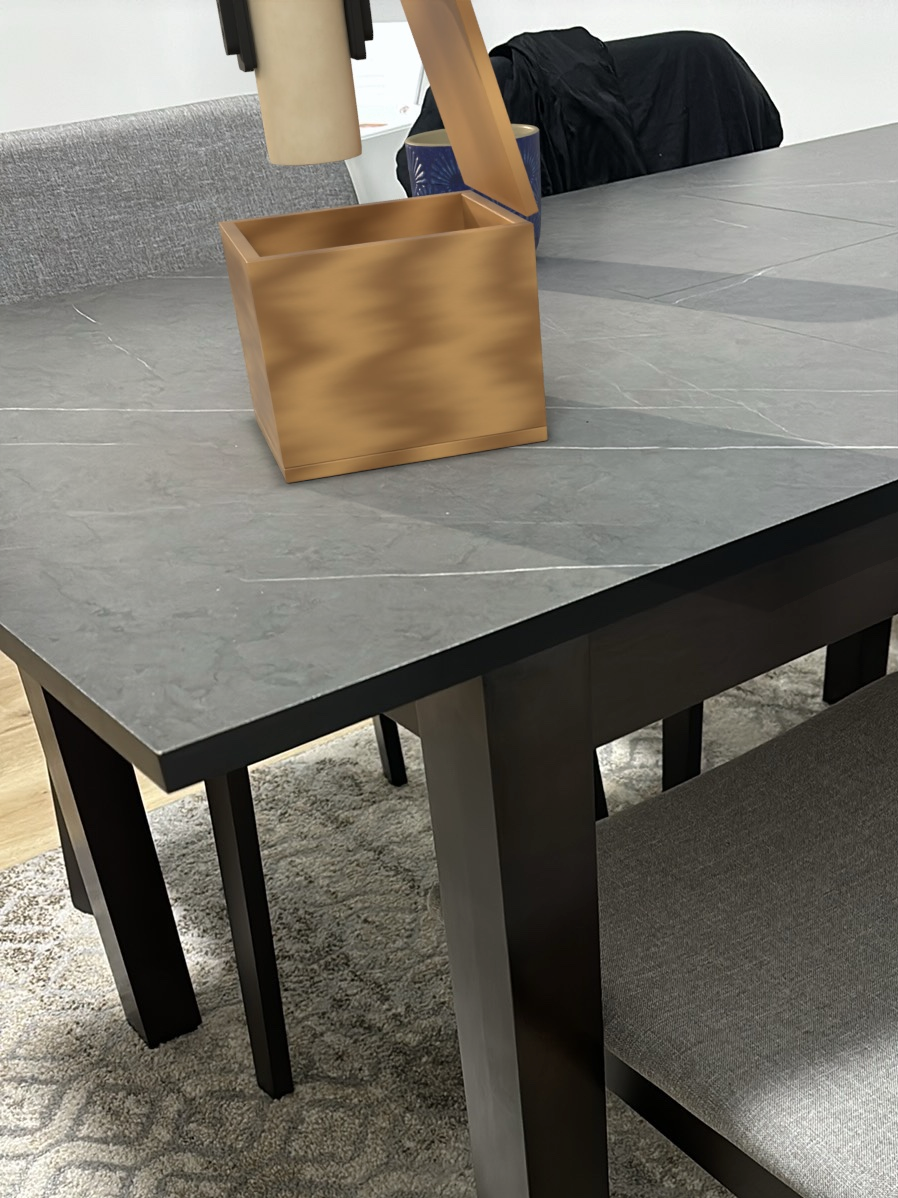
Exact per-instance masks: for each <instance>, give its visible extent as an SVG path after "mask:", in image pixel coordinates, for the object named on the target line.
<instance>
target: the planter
mask: <svg viewBox="0 0 898 1198" xmlns="http://www.w3.org/2000/svg"><path fill="white" fill-rule="evenodd" d="M511 126H512V129H513V133H514V136H515V139H516V142H517V145H518V148H519V151H520V154H521V157H522V160H523V163H524V167H525V170H526V173H527V176H528V179H529V182H530V185H531V188H532V191H533V194H534V198H535V201H536V204H537V207H538V210H539V211H538V212H537V213H535V214H533V215H531V216H529V217H526V216H524V215H522V214H521V213H519V212H517V211H515V210H513V209H511V208H509V207H507V206H505V205H504V204H502V203H500V202H498V201H496V200H494V199H492V198H490V197H488V196H486V195H485V194H483V193H481V192H479V191H477V190H475V189H473V188H471V187H469V186H467V185H466V184H465V183H464V180H463V178H462V175H461V172H460V169H459V166H458V163H457V161H456V158H455V155H454V152H453V149H452V146H451V144H450V141H449V138H448V135H447V132H446V129H445V128H440V129H434V130H430V131H429V130H428V131H425V132H420V133H417V134H414V135H411V136H409V137H407V138H405V140H404V146H405V153H406V161H407V168H408V173H409V175H408V176H409V182H410V187H411V196H412V197H419V196H427V195H435V194H442V193H450V192H458V191H466V190H472V191H473V192H475V193H477V194H478V195H480V196H482V197H484V198H486V199H488V200H490V201H491V202H493V203H495V204H497V205H499V206H501V207H503V208H505V209H506V210H508V211H510V212H512V213H514V214H516V215H518V216H520V217H521V218H523V219H525V220H527V221H529V222H531V223H533V224H534V239H535V252H536V251H537V248H538V247H539V243H540V239H541V230H542V229H541V228H542V178H541V174H542V173H541V150H540V149H541V148H540V147H541V146H540V129H539V128H538V127H537V126H535V125H530V124H524V123H522V124H521V123H511Z"/></svg>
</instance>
